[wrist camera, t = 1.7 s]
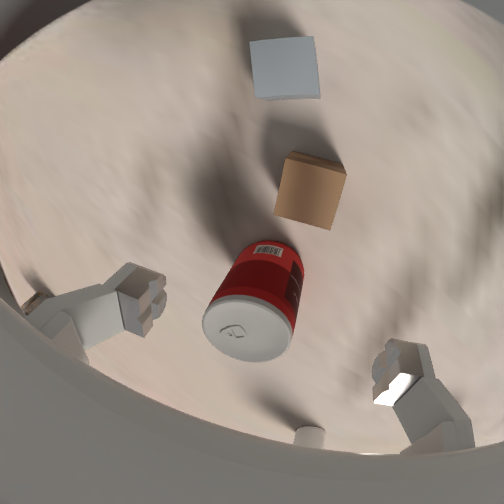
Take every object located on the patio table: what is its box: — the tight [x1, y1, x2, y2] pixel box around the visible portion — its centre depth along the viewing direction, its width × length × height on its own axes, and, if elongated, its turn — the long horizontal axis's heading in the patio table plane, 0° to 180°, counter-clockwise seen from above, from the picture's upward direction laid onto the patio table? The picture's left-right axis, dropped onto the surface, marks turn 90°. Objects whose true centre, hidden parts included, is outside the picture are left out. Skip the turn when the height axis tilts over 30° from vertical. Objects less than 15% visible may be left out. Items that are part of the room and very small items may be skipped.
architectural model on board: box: [21, 291, 51, 316], centre depth 49 cm, size 11×3×10 cm, turn 89°
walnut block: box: [274, 151, 347, 230], centre depth 24 cm, size 5×5×5 cm
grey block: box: [249, 36, 321, 101], centre depth 19 cm, size 5×5×5 cm
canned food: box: [202, 240, 304, 363], centre depth 27 cm, size 8×8×11 cm
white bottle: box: [294, 426, 326, 449], centre depth 39 cm, size 7×7×25 cm
